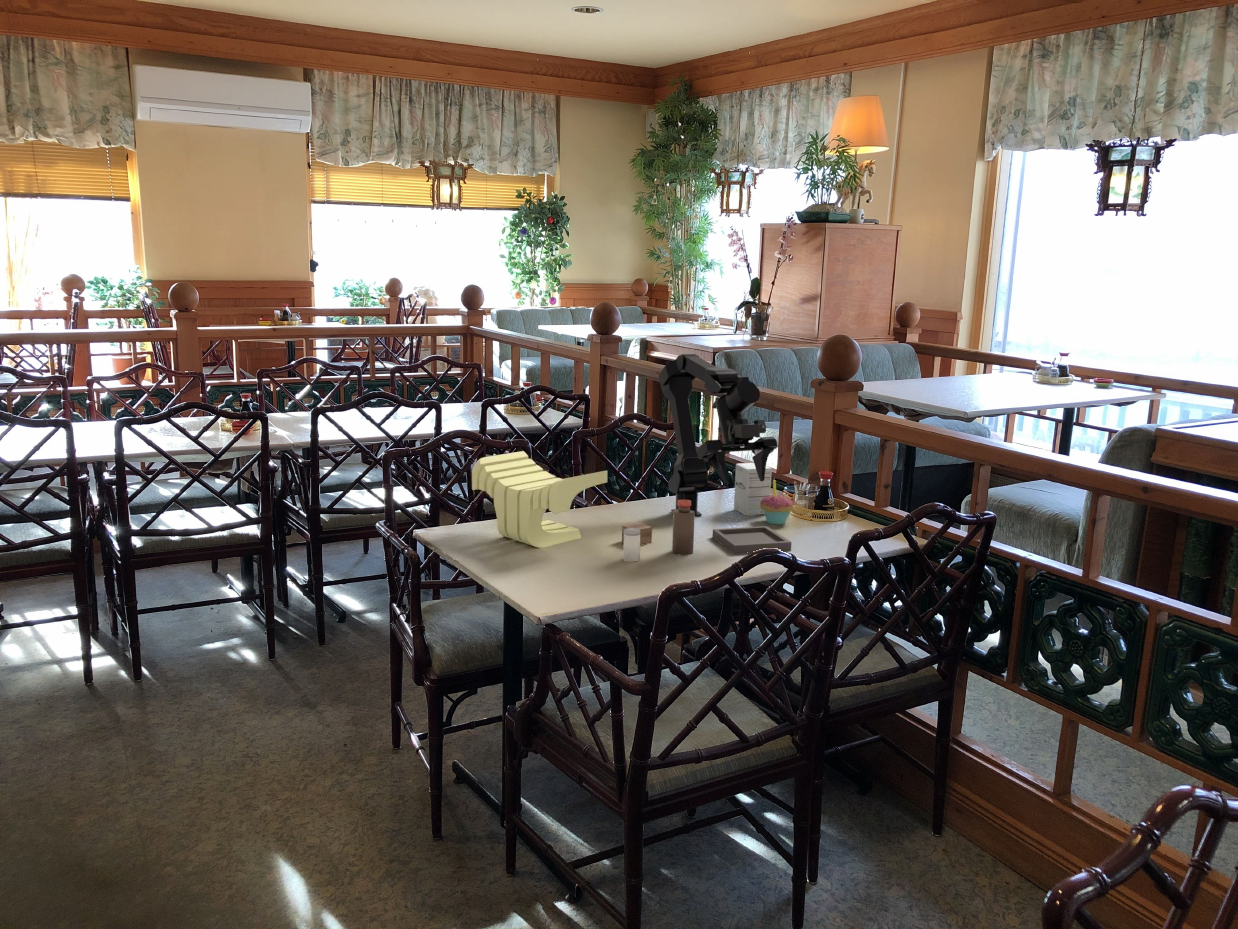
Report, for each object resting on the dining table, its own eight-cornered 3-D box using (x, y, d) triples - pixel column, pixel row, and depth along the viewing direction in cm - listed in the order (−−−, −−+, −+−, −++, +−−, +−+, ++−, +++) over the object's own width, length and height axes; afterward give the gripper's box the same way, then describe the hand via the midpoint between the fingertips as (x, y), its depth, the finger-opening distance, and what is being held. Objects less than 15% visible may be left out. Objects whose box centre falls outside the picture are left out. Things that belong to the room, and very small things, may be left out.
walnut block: (621, 541, 229) (622, 525, 228) (638, 538, 231) (639, 522, 231) (634, 546, 225) (634, 530, 224) (651, 543, 227) (651, 527, 227)
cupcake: (782, 528, 242) (785, 481, 240) (752, 522, 247) (754, 476, 245) (798, 521, 249) (801, 475, 246) (769, 515, 254) (771, 471, 251)
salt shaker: (621, 557, 216) (622, 528, 214) (636, 556, 217) (637, 527, 215) (625, 562, 212) (626, 532, 211) (641, 561, 213) (642, 531, 212)
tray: (712, 537, 233) (712, 529, 232) (766, 533, 237) (766, 526, 236) (734, 554, 220) (734, 545, 219) (791, 550, 223) (791, 542, 223)
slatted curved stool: (472, 531, 235) (471, 459, 231) (523, 519, 246) (523, 451, 242) (554, 559, 214) (554, 480, 210) (606, 545, 225) (607, 470, 221)
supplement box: (733, 509, 260) (734, 463, 257) (758, 507, 262) (760, 461, 260) (744, 516, 253) (746, 468, 251) (770, 514, 255) (772, 467, 253)
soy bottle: (669, 549, 222) (670, 498, 220) (689, 548, 223) (690, 497, 221) (676, 555, 218) (677, 504, 215) (696, 554, 219) (698, 503, 216)
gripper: (710, 408, 218) (724, 474, 214) (782, 405, 225) (797, 468, 221) (690, 426, 228) (703, 489, 224) (759, 422, 235) (773, 483, 231)
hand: (745, 482), depth 224 cm, fingers open, 9 cm apart
